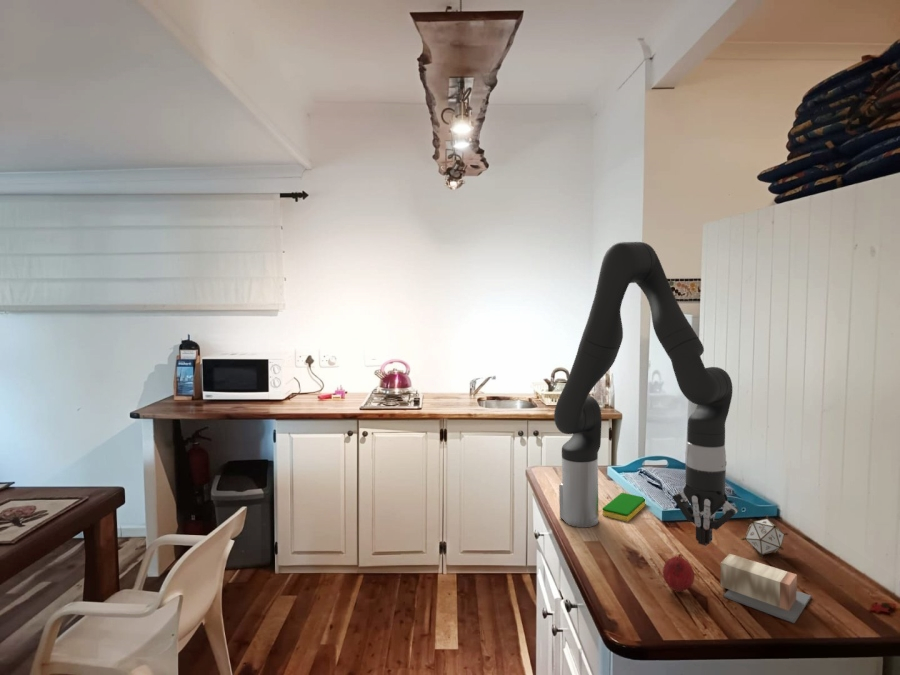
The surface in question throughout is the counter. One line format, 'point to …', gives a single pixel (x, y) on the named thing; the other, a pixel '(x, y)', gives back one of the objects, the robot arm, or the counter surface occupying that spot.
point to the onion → (678, 573)
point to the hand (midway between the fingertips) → (703, 543)
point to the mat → (771, 609)
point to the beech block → (759, 581)
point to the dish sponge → (624, 507)
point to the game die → (764, 536)
